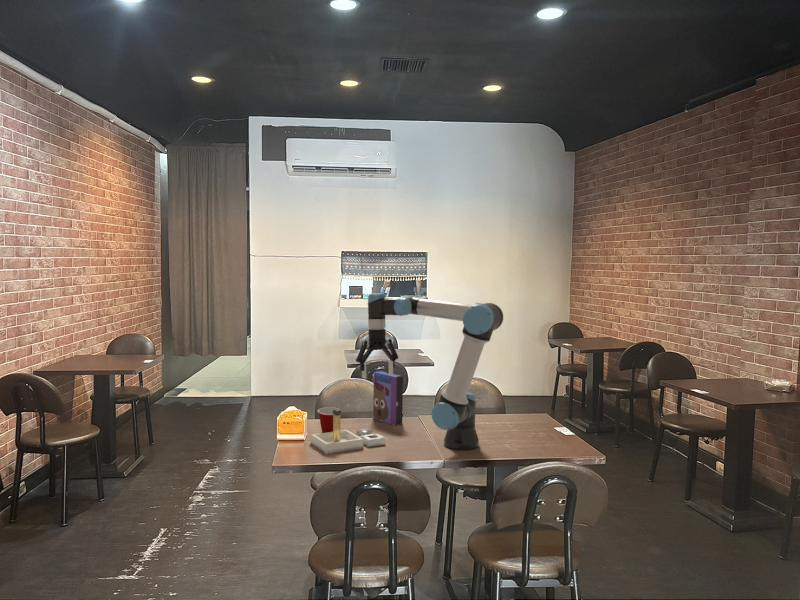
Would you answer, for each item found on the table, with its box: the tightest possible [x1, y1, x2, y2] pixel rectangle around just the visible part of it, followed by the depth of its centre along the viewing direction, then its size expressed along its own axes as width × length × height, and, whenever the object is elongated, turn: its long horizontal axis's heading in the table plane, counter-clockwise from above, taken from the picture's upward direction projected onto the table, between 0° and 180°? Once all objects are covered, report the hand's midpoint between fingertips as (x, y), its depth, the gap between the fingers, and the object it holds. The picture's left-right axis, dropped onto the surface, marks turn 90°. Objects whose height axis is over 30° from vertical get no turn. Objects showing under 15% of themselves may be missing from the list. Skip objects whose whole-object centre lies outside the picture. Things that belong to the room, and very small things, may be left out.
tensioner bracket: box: [355, 428, 386, 448], centre depth 272 cm, size 16×8×4 cm, turn 30°
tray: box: [310, 429, 364, 455], centre depth 264 cm, size 17×17×4 cm
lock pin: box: [333, 409, 342, 442], centre depth 263 cm, size 4×4×14 cm
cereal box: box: [372, 371, 404, 426], centre depth 308 cm, size 17×5×24 cm, turn 40°
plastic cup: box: [317, 406, 341, 433], centre depth 280 cm, size 11×11×12 cm
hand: (377, 376), depth 270 cm, fingers open, 13 cm apart
